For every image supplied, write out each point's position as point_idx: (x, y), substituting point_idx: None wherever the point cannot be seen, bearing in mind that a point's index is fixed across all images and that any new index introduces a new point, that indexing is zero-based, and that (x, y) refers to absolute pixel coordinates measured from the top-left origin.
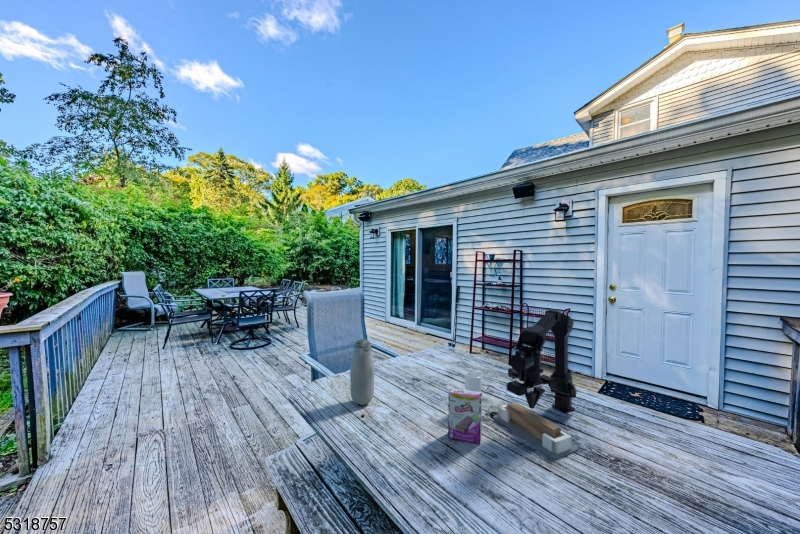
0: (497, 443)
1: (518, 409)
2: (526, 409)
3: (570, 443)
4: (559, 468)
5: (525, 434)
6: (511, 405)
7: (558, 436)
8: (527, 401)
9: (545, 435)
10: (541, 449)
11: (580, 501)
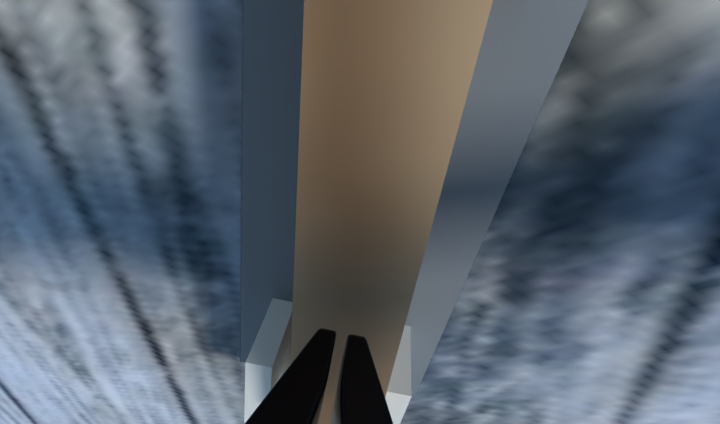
0: (16, 101)
1: (327, 96)
2: (431, 174)
3: None
4: (214, 377)
5: (283, 178)
6: None
7: None
8: (257, 411)
9: (248, 376)
10: (241, 304)
11: None
